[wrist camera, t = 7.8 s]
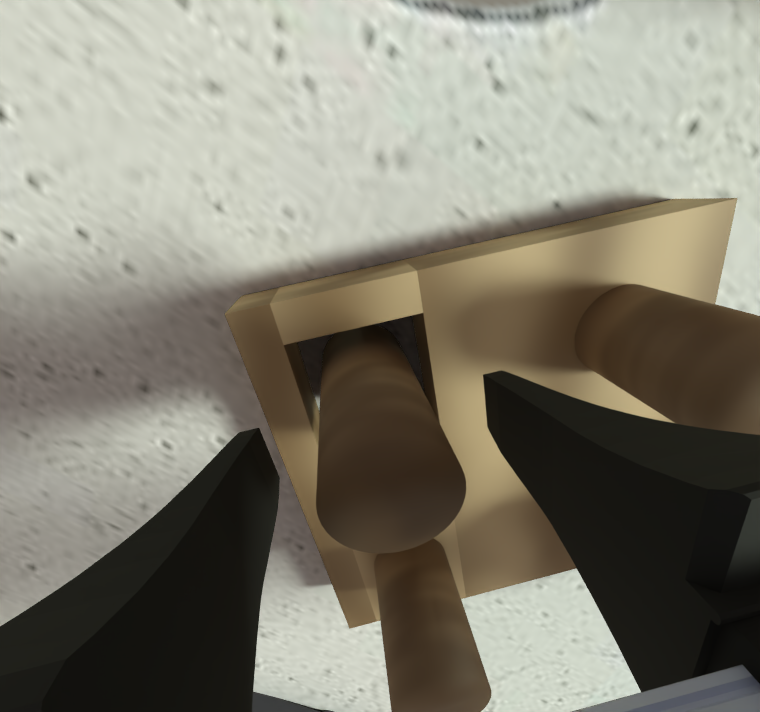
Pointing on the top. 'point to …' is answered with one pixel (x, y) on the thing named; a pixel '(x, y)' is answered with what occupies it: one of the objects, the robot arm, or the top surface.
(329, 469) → the loose leg
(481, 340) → the wooden peg board
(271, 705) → the calculator
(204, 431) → the top surface
